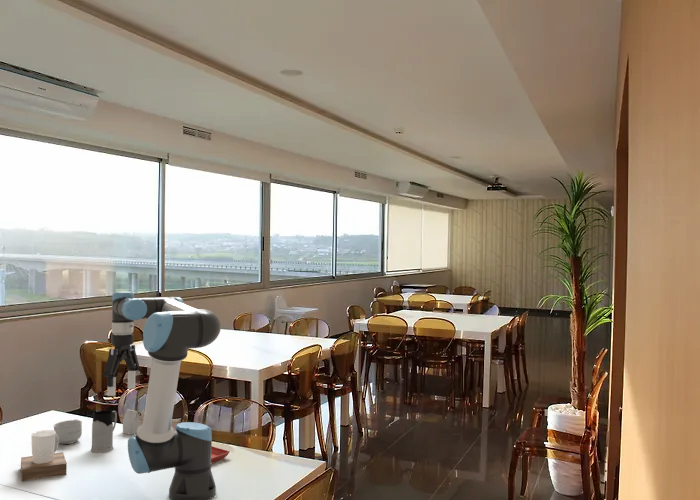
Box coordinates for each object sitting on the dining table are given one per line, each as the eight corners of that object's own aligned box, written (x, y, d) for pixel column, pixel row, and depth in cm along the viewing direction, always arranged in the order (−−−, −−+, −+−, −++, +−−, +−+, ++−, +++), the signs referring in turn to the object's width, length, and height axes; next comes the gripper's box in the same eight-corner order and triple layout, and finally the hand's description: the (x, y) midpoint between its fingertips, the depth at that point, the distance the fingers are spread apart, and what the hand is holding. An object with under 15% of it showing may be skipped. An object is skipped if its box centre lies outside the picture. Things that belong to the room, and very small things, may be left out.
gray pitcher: (85, 452, 243) (86, 414, 244) (106, 441, 257) (106, 406, 258) (105, 453, 242) (106, 416, 242) (125, 443, 256) (125, 407, 256)
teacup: (70, 446, 250) (71, 427, 250) (47, 444, 252) (47, 425, 252) (91, 437, 263) (92, 418, 263) (69, 435, 265) (69, 416, 266)
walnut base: (66, 474, 219) (66, 463, 219) (22, 481, 212) (22, 469, 212) (62, 462, 231) (63, 452, 231) (20, 468, 224) (21, 457, 224)
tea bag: (133, 435, 268) (133, 412, 268) (122, 432, 271) (123, 410, 271) (139, 433, 271) (140, 410, 271) (129, 430, 274) (129, 408, 274)
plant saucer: (230, 459, 240) (230, 450, 240) (195, 472, 225) (196, 463, 225) (198, 450, 250) (198, 442, 250) (163, 462, 235) (163, 453, 235)
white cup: (31, 458, 223) (31, 431, 223) (55, 456, 226) (55, 429, 226) (30, 465, 215) (30, 437, 216) (54, 462, 219) (55, 435, 219)
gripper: (113, 337, 211) (112, 399, 210) (148, 330, 235) (148, 385, 235) (93, 337, 212) (92, 398, 211) (131, 330, 237) (130, 385, 236)
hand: (121, 392), depth 223 cm, fingers open, 13 cm apart
